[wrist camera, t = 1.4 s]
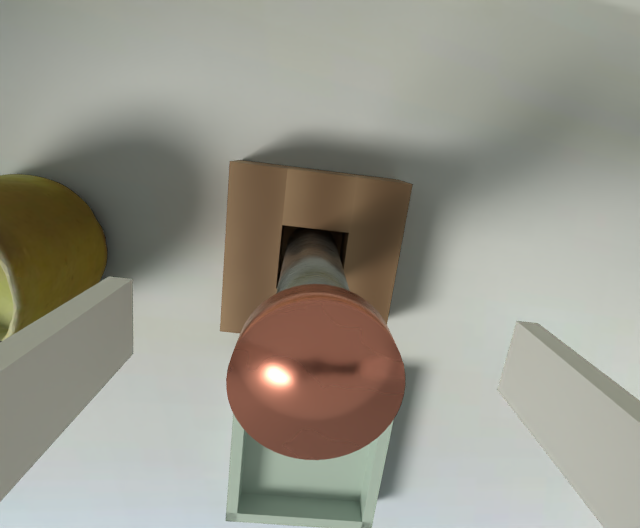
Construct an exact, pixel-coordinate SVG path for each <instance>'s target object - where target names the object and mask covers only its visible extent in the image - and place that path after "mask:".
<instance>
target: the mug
mask: <svg viewBox="0 0 640 528" xmlns="http://www.w3.org/2000/svg"><path fill="white" fill-rule="evenodd" d="M106 263H107V246H106V240H105V235H104V232H103V229H102V227H101V226H100V224H99V223H98V221H97V220H96V218H95V216H94V214H93V212H92V210H91V209H90V207H89V206H88V205H87V204H86V203H85V202H84V201H83V200H82V199H81V198H80V197H79V196H78V195H76V194H75V193H74V192H73V191H72V190H70V189H69V188H67V187H66V186H64V185H62V184H60V183H58V182H55V181H52V180H49V179H46V178H43V177H38V176H32V175H24V174H8V175H0V341H3V340H5V339H7V338H8V337H10V336H12V335H13V334H15V333H17V332H18V331H20V330H22V329H23V328H25V327H26V326H28V325H30V324H31V323H33V322H35V321H36V320H38V319H40V318H41V317H43V316H45V315H46V314H48V313H50V312H51V311H53V310H54V309H56V308H58V307H59V306H61V305H63V304H64V303H66V302H68V301H69V300H71V299H73V298H74V297H76V296H78V295H79V294H81V293H83V292H84V291H86V290H87V289H89V288H91V287H92V286H94V285H96V284H97V283H99V281H100V279H101V277H102V275H103V273H104V270H105V267H106Z"/></svg>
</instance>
